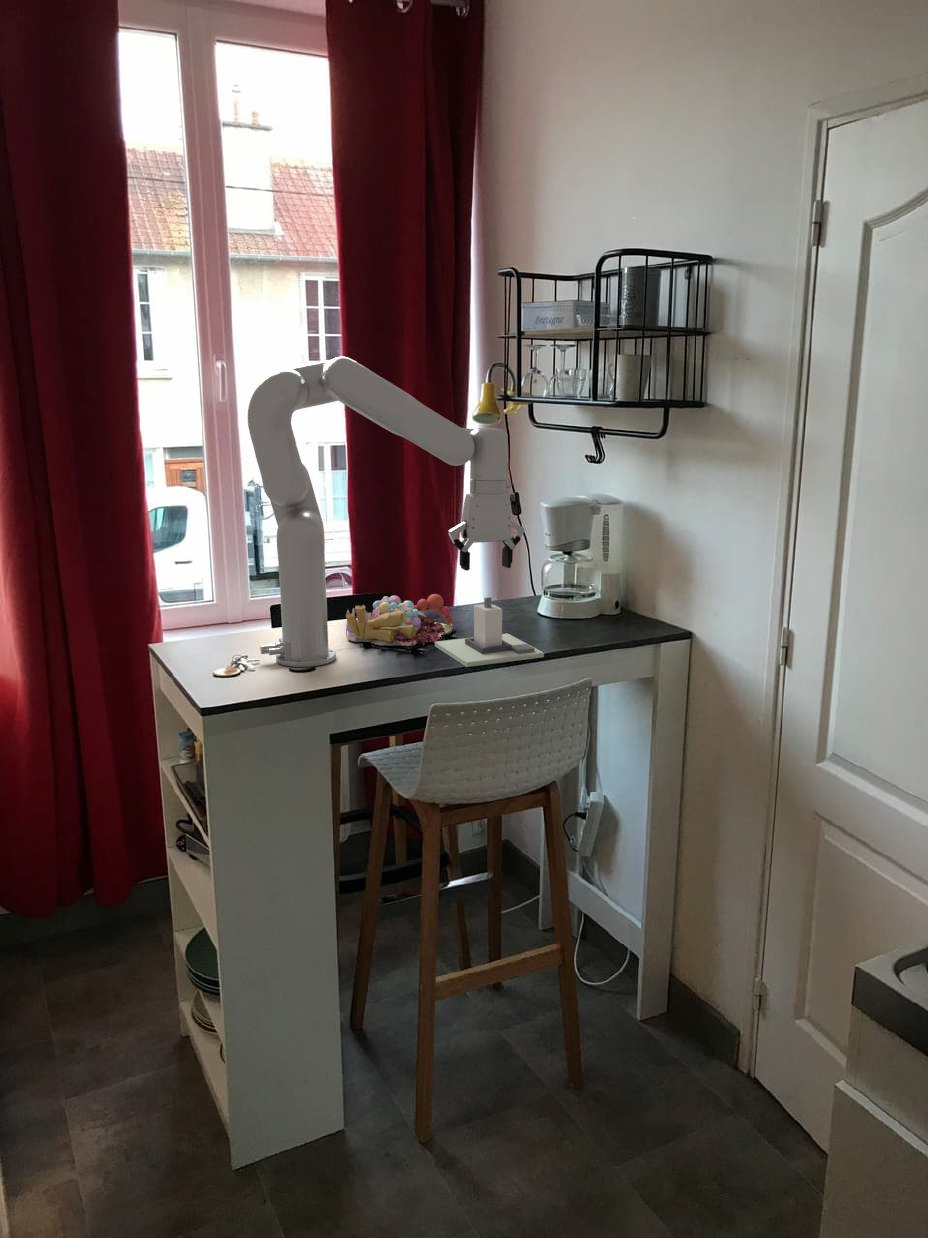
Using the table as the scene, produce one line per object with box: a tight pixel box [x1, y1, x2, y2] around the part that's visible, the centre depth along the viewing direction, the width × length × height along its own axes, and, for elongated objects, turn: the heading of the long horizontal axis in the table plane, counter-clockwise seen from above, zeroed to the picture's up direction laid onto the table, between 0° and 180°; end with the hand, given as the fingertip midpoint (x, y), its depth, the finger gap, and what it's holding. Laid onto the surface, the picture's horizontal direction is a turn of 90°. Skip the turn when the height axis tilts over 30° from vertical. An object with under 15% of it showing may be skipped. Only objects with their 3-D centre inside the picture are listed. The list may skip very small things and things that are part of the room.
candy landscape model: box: [345, 593, 454, 647], centre depth 227 cm, size 25×24×9 cm
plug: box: [473, 596, 503, 647], centre depth 211 cm, size 6×4×11 cm, turn 23°
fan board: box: [434, 633, 545, 668], centre depth 212 cm, size 18×18×2 cm
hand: (486, 568), depth 208 cm, fingers open, 9 cm apart
